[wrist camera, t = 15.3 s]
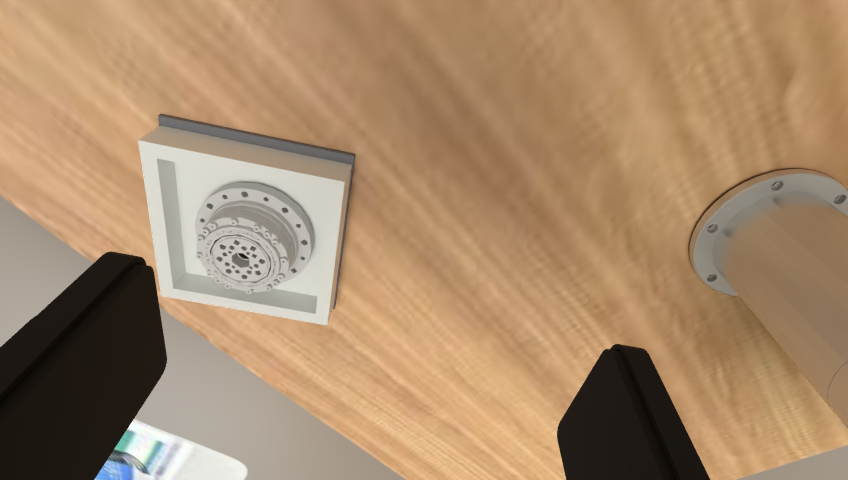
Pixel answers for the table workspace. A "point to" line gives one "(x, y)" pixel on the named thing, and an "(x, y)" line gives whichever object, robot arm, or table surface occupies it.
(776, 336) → the robot arm
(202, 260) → the mechanical component
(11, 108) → the table surface
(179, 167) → the tray
